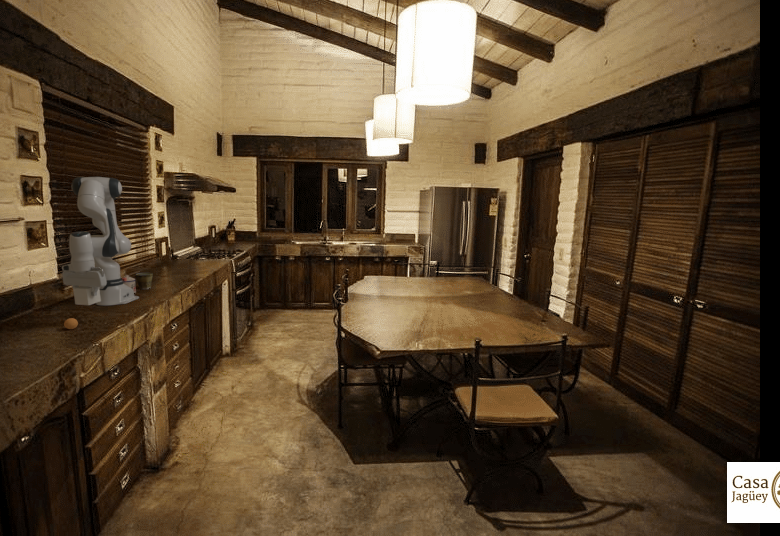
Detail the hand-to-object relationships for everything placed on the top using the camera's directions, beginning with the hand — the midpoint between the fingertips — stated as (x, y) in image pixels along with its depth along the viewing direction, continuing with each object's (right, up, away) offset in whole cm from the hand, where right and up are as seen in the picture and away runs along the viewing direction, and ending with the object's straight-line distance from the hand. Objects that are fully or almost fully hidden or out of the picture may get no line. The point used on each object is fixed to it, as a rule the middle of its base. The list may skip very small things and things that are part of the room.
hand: (86, 295), depth 195 cm
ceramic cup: (-22, -1, +82) cm, 85 cm away
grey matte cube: (0, -4, +1) cm, 4 cm away
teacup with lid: (-23, -3, +67) cm, 71 cm away
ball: (-2, -13, -7) cm, 15 cm away
